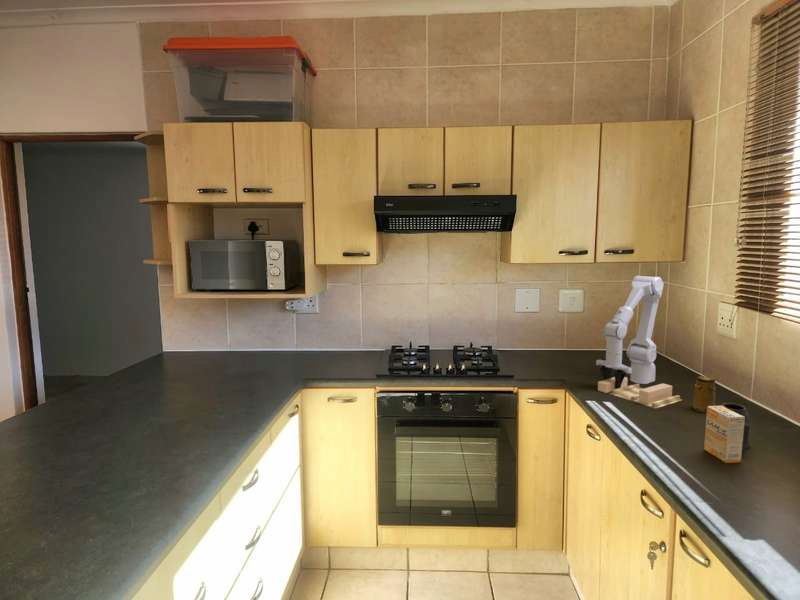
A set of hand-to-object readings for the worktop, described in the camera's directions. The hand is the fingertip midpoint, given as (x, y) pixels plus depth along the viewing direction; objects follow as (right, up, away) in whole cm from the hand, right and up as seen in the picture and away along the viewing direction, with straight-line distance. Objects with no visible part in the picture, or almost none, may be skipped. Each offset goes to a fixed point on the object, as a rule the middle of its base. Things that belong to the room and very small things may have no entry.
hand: (612, 386), depth 186 cm
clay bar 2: (+9, -2, -14) cm, 17 cm away
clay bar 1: (0, -2, 0) cm, 2 cm away
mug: (+13, -8, -50) cm, 52 cm away
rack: (+7, -3, -10) cm, 13 cm away
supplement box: (+5, -9, -56) cm, 57 cm away
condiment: (+21, -5, -25) cm, 33 cm away
